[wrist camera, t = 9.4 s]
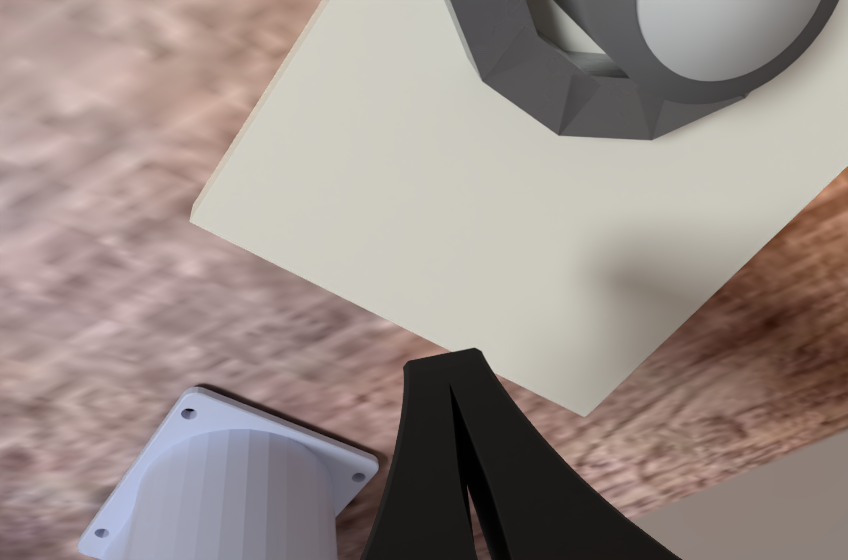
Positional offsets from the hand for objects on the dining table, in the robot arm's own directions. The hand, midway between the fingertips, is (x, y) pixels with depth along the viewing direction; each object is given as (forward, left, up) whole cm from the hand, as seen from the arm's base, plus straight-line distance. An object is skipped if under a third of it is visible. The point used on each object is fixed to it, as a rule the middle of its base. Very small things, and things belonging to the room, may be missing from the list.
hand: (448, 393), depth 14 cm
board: (+6, -4, -10) cm, 12 cm away
